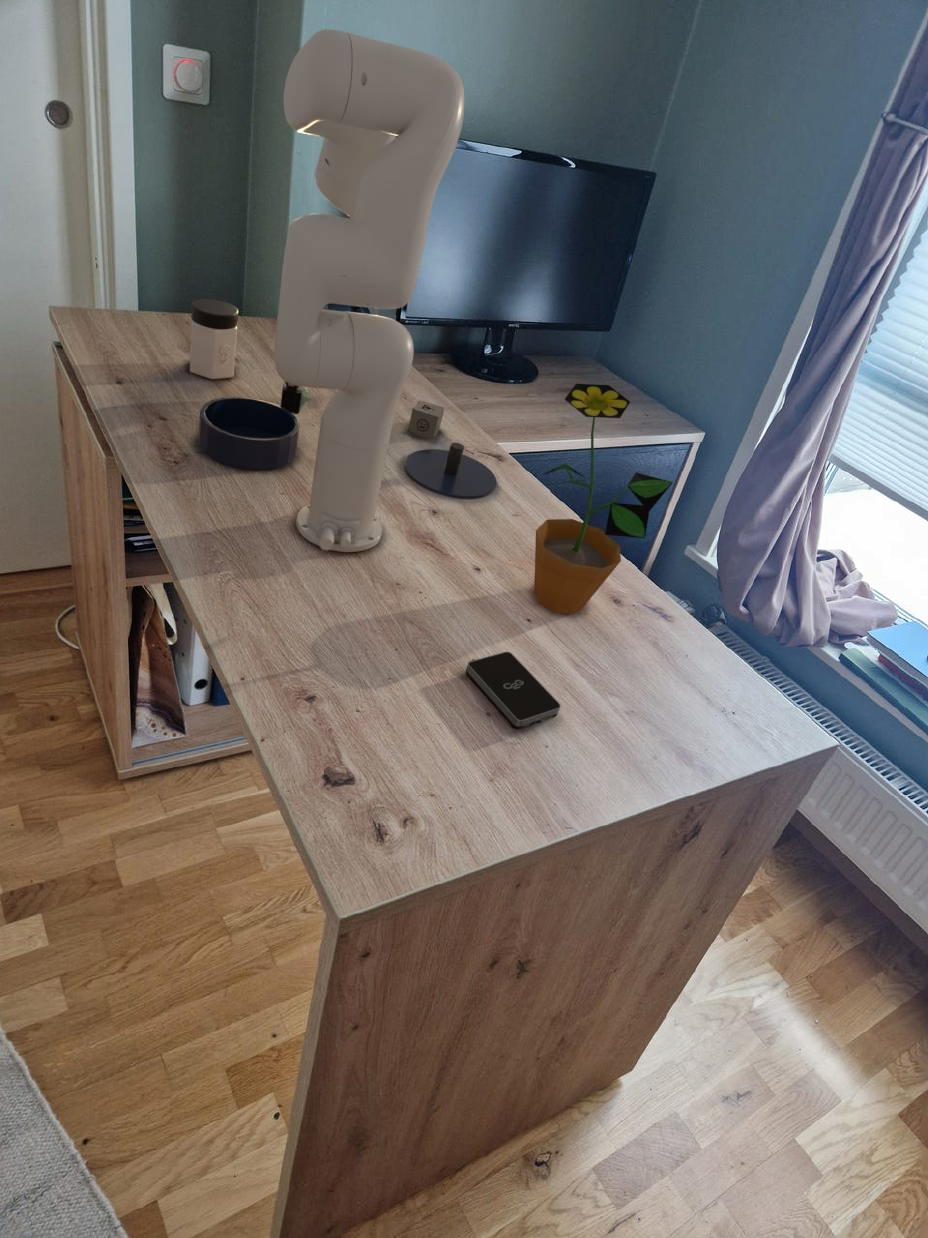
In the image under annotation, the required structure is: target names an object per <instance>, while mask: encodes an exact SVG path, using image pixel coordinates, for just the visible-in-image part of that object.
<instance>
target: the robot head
mask: <svg viewBox="0 0 928 1238" xmlns="http://www.w3.org/2000/svg"><path fill="white" fill-rule="evenodd" d="M283 388H284V383H283V384H282V389H283ZM300 391H301V392H302V394H301V403H300V411H299V413H298V414H294V413H292V414H293V415H294V416H296V415H299V414H301V413H302V412H303V410H304V408H305V406H306V404H307V403H308V402H309V401H311V400H312V397H311V396H310V394H309V392H308V387H302V386H301V389H300Z"/></svg>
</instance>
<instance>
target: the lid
mask: <svg viewBox="0 0 928 1238" xmlns="http://www.w3.org/2000/svg"><path fill="white" fill-rule="evenodd" d="M464 450H465V446H464V444H462V443H459V442H451V443H450V446H449V448H448V450H447V449H439V448H438V449H437V448H427V449H419V450H416V451H413V452H411V453H409V454H408V455H407V456H406V458H405V460H404V462H403V463H404V464H403V468H404V471H405V472H406V474H407V475H408V478H410V479H411V480H412V481H414V482H415V483H416V484H417V485H419V486H421V487H422V488H424V489H426V490H429V491H431V492H434V493H435V494H439V495H442V496H446V497H451V498H456V499H467V500H468V499H470V500H471V499H481V498H484V497H487V496H489V495H491V494H492V493H493V492H494V491H495V489H496V487H497V483H498V482H497V478H496V476H495V473H493V471H491V470H492V469H491V470H490V468H489V467H488V466H486V465H485V464H483V463H482V462H480V461H479V460H477V459H475V458H473V457H470V456H468V455H465V454H464Z"/></svg>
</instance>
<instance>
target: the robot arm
mask: <svg viewBox="0 0 928 1238" xmlns="http://www.w3.org/2000/svg"><path fill="white" fill-rule="evenodd" d="M464 88H465V87H464V84H463V80H462V78H461V77H460V74H459V73H458V71H457V70H456V69H454V68H453V66H452V65H450V64H449V63H447V62H446V61H444V60H442V59H440V58H438V57H436V56H434V55H431V54H430V53H429V54H428V53H426V52H424V51H423V52H422V51H420V50H417V49H416V50H415V49H413V48H409V47H405V46H401V45H397V44H393V43H390V42H384V41H380V40H376V39H373V38H369V37H364V36H362V35H357V34H354V33H350V32H345V31H341V30H337V29H332V28H331V29H330V28H327V29H326V28H325V29H320V30H318V31H316V32H315V33H313V35H312V36H311V37H310V38H309V39H308V40H307V41H306V42H305V43H304V44H303V46H301V47H300V49H299V50H298V51H297V53H296V55H295V56H294V58H293V60H292V62H291V63H290V67H289V69H288V71H287V75H286V79H285V84H284V89H283V112H284V117H285V120H286V122H287V124H288V126H289V127H290V128H291V129H292V130H293V131H295V132H297V133H301V134H306V135H310V136H313V137H320V138H323V140H322V144H321V148H320V154H319V156H318V160H317V164H316V167H315V171H314V179H315V184H316V186H317V189H318V190H319V192H320V194H321V195H322V196H323V198H324V199H325V200H327V202H329V204H331V205H332V206H334V207H335V208H336V209H338V210H339V211H340V212H341V213H343V214H345V215H347V216H348V217H343V216H338V215H330V214H324V213H307V214H305V215H302V216H300V217H298V218H294V219H293V220H292V221H291V222H290V224H289V227H288V232H287V238H286V244H285V248H284V253H283V260H282V261H283V262H282V271H281V272H282V273H281V279H280V280H281V281H280V288H279V299H278V308H277V317H276V323H275V324H276V325H275V334H274V350H273V351H274V352H273V353H274V364H275V369H276V372H277V375H278V376H279V377H280V379H282V380H283V381H284V382H283V384H284V388H283V387H282V390H281V399H280V406H281V407H283V408H285V409H287V410H288V411H290V412H291V413H292V414H293V413H294V414H293V415H295V414H296V415H299V414H298V413H299V411H300V403H301V394H302V392H301V391H300V389H301V386H302V387H306V388H314V389H315V388H316V389H325V390H326V389H327V390H337V391H336V392H335V393H334V394H333V395H332V396H331V398H330V399H329V400H328V402H327V404H326V406H325V407H324V409H323V411H322V412H323V413H322V415H321V419H320V427H319V434H318V440H317V441H318V442H317V448H316V454H315V455H316V456H315V462H314V470H313V476H312V484H311V491H310V497H309V504H306V505H305V506H303V507H302V508H300V509H299V510H298V512H297V515H296V520H295V525H296V529H297V530H298V532H299V534H301V536H302V537H303V538H304V539H306V540H307V541H308V542H310V543H312V544H314V545H315V546H318V547H319V548H320V549H321V550H323V551H335V552H339V553H340V552H341V553H357V552H363V551H366V550H369V549H371V548H373V547H375V546H377V544H378V543H380V540H381V538H382V534H383V527H382V523H381V522H380V521H379V519H378V517H376V511H377V506H378V505H377V504H378V499H379V495H380V490H381V485H382V479H383V476H384V469H385V464H386V458H387V454H388V450H389V449H388V448H389V444H390V439H391V434H392V429H393V425H394V420H395V416H396V413H397V412H396V411H397V408H398V405H399V401H400V398H401V396H402V394H403V390H404V388H405V385H406V383H407V381H408V378H409V375H410V372H411V370H412V366H413V361H414V356H415V355H414V353H415V349H414V348H415V347H414V346H415V345H414V341H413V338H412V335H411V334H410V332H409V330H408V329H407V328H406V326H404V325H403V324H402V323H400V322H399V321H397V320H395V319H394V318H391V317H386V316H383V315H379V314H378V315H375V314H371V313H363V312H355V311H346V310H345V311H342V310H334V309H333V310H332V309H329V304H334V305H344V306H351V307H359V308H368V309H375V308H377V309H378V310H396V309H400V308H403V307H404V306H406V305H407V304H408V303H409V302H410V300H411V299H412V296H413V295H414V291H415V288H416V285H417V281H418V277H419V273H420V272H419V271H420V267H421V262H422V258H423V253H424V250H425V249H424V248H425V243H426V239H427V233H428V227H429V224H430V218H431V214H432V209H433V208H432V207H433V203H434V200H435V196H436V193H437V190H438V187H439V185H440V184H441V183H440V182H441V181H442V178H443V176H444V174H445V173H446V170H447V168H448V166H449V164H450V162H451V160H452V157H453V155H454V153H455V151H456V148H457V144H458V142H459V139H460V135H461V131H462V127H463V123H464V116H465V105H466V104H465V101H466V99H465V98H466V97H465V89H464Z"/></svg>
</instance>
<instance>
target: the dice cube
mask: <svg viewBox="0 0 928 1238" xmlns="http://www.w3.org/2000/svg"><path fill="white" fill-rule="evenodd" d="M411 409H412V410H411V414H410V418H409V424H408V429H407V432H409V433H412V434H416V435H419V436H422V437H425V438H429V439H432V440H434V439H435V437H436V436H437V434H438V432H439V431H440V429H441V424H442V419H443V415H444V412H445V407H443V406H440V405H438V404H435V403H430V402H427V401H425V400H421V399H418V401H417V402H416V403H415V404H414V406H413V408H411Z"/></svg>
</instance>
